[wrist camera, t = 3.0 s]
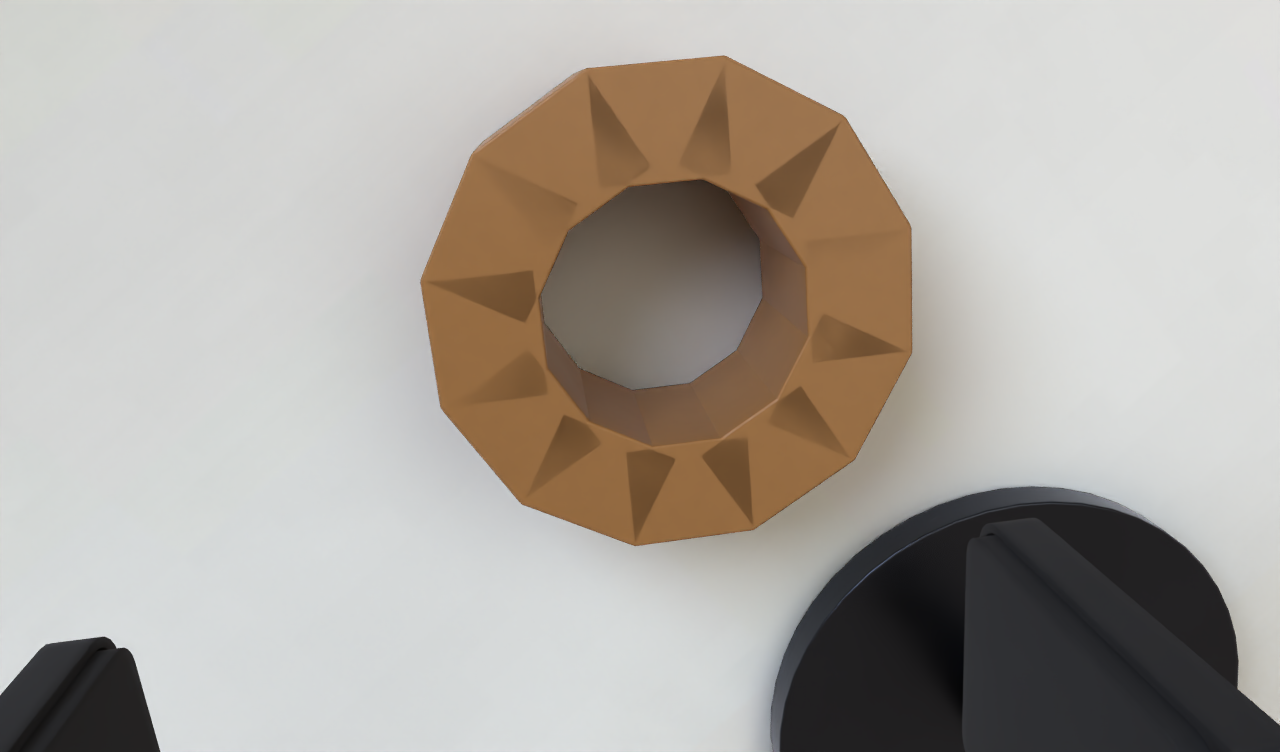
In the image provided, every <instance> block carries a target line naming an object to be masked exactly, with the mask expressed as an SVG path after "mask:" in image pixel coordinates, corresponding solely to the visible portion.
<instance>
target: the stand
mask: <svg viewBox="0 0 1280 752" xmlns="http://www.w3.org/2000/svg"><path fill="white" fill-rule="evenodd" d="M1027 518H1037V519H1039V520H1040V521H1042V522H1043V523H1044V524H1045V525H1047V526H1048V527H1049V528H1050V529H1051V530H1052V531H1054V532H1055V533H1056V534H1057V535H1058V536H1059V537H1061V538H1062V539H1063V540H1064V541H1065V542H1066V543H1068V544H1069V545H1070V546H1071V547H1072V548H1073V549H1075V550H1076V551H1077V552H1078V553H1079V554H1080V555H1082V556H1083V557H1084V558H1085V559H1086V560H1087V561H1089V562H1090V563H1091V564H1092V565H1093V566H1094V567H1096V568H1097V569H1098V570H1099V571H1100V572H1101V573H1103V574H1104V575H1105V576H1106V577H1107V578H1108V579H1110V580H1111V581H1112V582H1113V583H1114V584H1115V585H1117V586H1118V587H1119V588H1120V589H1121V590H1122V591H1124V592H1125V593H1126V594H1127V595H1128V596H1129V597H1131V598H1132V599H1133V600H1134V601H1135V602H1136V603H1138V604H1139V605H1140V606H1141V607H1142V608H1143V609H1145V610H1146V611H1147V612H1148V613H1149V614H1150V615H1152V616H1153V617H1154V618H1155V619H1156V620H1157V621H1159V622H1160V623H1161V624H1162V625H1163V626H1164V627H1166V628H1167V629H1168V630H1169V631H1170V632H1171V633H1173V634H1174V635H1175V636H1176V637H1177V638H1178V639H1180V640H1181V641H1182V642H1183V643H1184V644H1185V645H1187V646H1188V647H1189V648H1190V649H1191V650H1192V651H1194V652H1195V653H1196V654H1197V655H1198V656H1199V657H1201V658H1202V659H1203V660H1204V661H1205V662H1206V663H1208V664H1209V665H1210V666H1211V667H1212V668H1213V669H1215V670H1216V671H1217V672H1218V673H1219V674H1220V675H1222V676H1223V677H1224V678H1225V679H1226V680H1227V681H1229V682H1230V683H1231V684H1232V685H1233V686H1234V687H1236V688H1237V686H1238V653H1237V644H1236V635H1235V632H1234V628H1233V624H1232V621H1231V617H1230V613H1229V610H1228V608H1227V606H1226V604H1225V602H1224V599H1223V597H1222V595H1221V593H1220V591H1219V588H1218V586H1217V585H1216V584H1215V582H1214V581H1213V579H1212V578H1211V576H1210V575H1209V573H1208V572H1207V570H1206V569H1205V567H1204V566H1203V565H1202V564H1201V563H1200V562H1199V561H1198V560H1197V558H1196V557H1195V556H1194V555H1193V554H1192V553H1191V552H1190V551H1189V550H1188V549H1187V548H1186V547H1185V546H1184V545H1182V544H1181V543H1180V542H1178V541H1177V540H1176V539H1174V538H1173V537H1172V536H1170V535H1169V534H1168V533H1166V532H1165V531H1164V530H1162V529H1161V528H1159V527H1158V526H1156V525H1155V524H1153V523H1152V522H1150V521H1149V520H1148V519H1146V518H1145V517H1143V516H1142V515H1140V514H1138V513H1136V512H1134V511H1132V510H1130V509H1128V508H1126V507H1125V506H1123V505H1121V504H1119V503H1116V502H1114V501H1111V500H1108V499H1105V498H1102V497H1099V496H1096V495H1093V494H1090V493H1085V492H1079V491H1074V490H1069V489H1064V488H1049V487H1019V488H1005V489H997V490H992V491H987V492H982V493H977V494H972V495H968V496H965V497H962V498H959V499H956V500H953V501H950V502H947V503H943V504H940V505H938V506H936V507H933V508H931V509H929V510H927V511H925V512H923V513H920V514H918V515H916V516H914V517H912V518H909V519H908V520H906V521H904V522H903V523H901V524H899V525H898V526H896V527H894V528H893V529H891V530H890V531H888V532H886V533H885V534H883V535H881V536H880V537H879V538H877V539H876V540H875V541H873V542H872V543H871V544H870V545H868V546H867V547H866V548H864V549H863V550H862V551H860V552H859V553H858V554H857V555H855V556H854V557H853V558H852V559H851V560H850V561H849V562H848V563H847V564H846V565H845V566H844V567H843V568H842V569H841V570H840V571H839V572H838V573H837V574H836V575H835V576H834V577H833V578H832V579H831V580H830V581H829V583H828V584H827V585H826V586H825V588H824V589H823V590H822V591H821V592H820V594H819V595H818V596H817V597H816V599H815V600H814V601H813V602H812V604H811V606H810V607H809V609H808V610H807V612H806V614H805V615H804V617H803V618H802V620H801V622H800V623H799V625H798V626H797V628H796V630H795V632H794V634H793V637H792V639H791V641H790V643H789V645H788V647H787V649H786V652H785V654H784V657H783V660H782V663H781V666H780V670H779V673H778V676H777V679H776V683H775V689H774V695H773V701H772V707H771V742H772V749H773V752H965V749H964V744H963V738H962V715H963V675H964V634H965V593H966V553H967V545H968V543H969V541H970V540H971V539H972V538H977V537H980V533H981V530H982V528H983V526H985V525H986V524H988V523H996V522H1004V521H1011V520H1019V519H1027Z"/></svg>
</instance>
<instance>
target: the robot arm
mask: <svg viewBox="0 0 1280 752" xmlns="http://www.w3.org/2000/svg"><path fill="white" fill-rule="evenodd" d="M962 738H963V744H964V749H965V752H1280V725H1279V724H1277V723H1276V722H1275V721H1274V720H1273V719H1272V718H1271V717H1269V716H1268V715H1267V714H1266V713H1265V712H1264V711H1262V710H1261V709H1260V708H1259V707H1258V706H1257V705H1255V704H1254V703H1253V702H1252V701H1251V700H1250V699H1248V698H1247V697H1246V696H1245V695H1244V694H1243V693H1241V692H1240V691H1239V690H1238V689H1237V688H1236V687H1234V686H1233V685H1232V684H1231V683H1230V682H1229V681H1227V680H1226V679H1225V678H1224V677H1223V676H1222V675H1220V674H1219V673H1218V672H1217V671H1216V670H1215V669H1213V668H1212V667H1211V666H1210V665H1209V664H1208V663H1206V662H1205V661H1204V660H1203V659H1202V658H1201V657H1199V656H1198V655H1197V654H1196V653H1195V652H1194V651H1192V650H1191V649H1190V648H1189V647H1188V646H1187V645H1185V644H1184V643H1183V642H1182V641H1181V640H1180V639H1178V638H1177V637H1176V636H1175V635H1174V634H1173V633H1171V632H1170V631H1169V630H1168V629H1167V628H1166V627H1164V626H1163V625H1162V624H1161V623H1160V622H1159V621H1157V620H1156V619H1155V618H1154V617H1153V616H1152V615H1150V614H1149V613H1148V612H1147V611H1146V610H1145V609H1143V608H1142V607H1141V606H1140V605H1139V604H1138V603H1136V602H1135V601H1134V600H1133V599H1132V598H1131V597H1129V596H1128V595H1127V594H1126V593H1125V592H1124V591H1122V590H1121V589H1120V588H1119V587H1118V586H1117V585H1115V584H1114V583H1113V582H1112V581H1111V580H1110V579H1108V578H1107V577H1106V576H1105V575H1104V574H1103V573H1101V572H1100V571H1099V570H1098V569H1097V568H1096V567H1094V566H1093V565H1092V564H1091V563H1090V562H1089V561H1087V560H1086V559H1085V558H1084V557H1083V556H1082V555H1080V554H1079V553H1078V552H1077V551H1076V550H1075V549H1073V548H1072V547H1071V546H1070V545H1069V544H1068V543H1066V542H1065V541H1064V540H1063V539H1062V538H1061V537H1059V536H1058V535H1057V534H1056V533H1055V532H1054V531H1052V530H1051V529H1050V528H1049V527H1048V526H1047V525H1045V524H1044V523H1043V522H1042V521H1040V520H1039V519H1037V518H1027V519H1019V520H1011V521H1004V522H996V523H988V524H986V525H985V526H983V528H982V530H981V533H980V537H977V538H972V539H971V540H970V541H969V543H968V545H967V553H966V593H965V634H964V675H963V715H962ZM0 752H160V749H159V746H158V742H157V738H156V735H155V731H154V728H153V724H152V721H151V717H150V714H149V710H148V707H147V703H146V699H145V696H144V692H143V689H142V685H141V682H140V678H139V675H138V671H137V667H136V664H135V661H134V658H133V656H132V654H131V652H130V651H129V650H128V649H126V648H118V649H116V646H115V645H114V643H113V642H112V641H111V640H110V639H109V638H106V637H97V638H90V639H82V640H74V641H66V642H58V643H51V644H46V645H45V646H44V647H43V648H41V649H40V650H39V651H38V652H37V653H36V655H35V656H34V657H33V658H32V659H31V660H30V662H29V663H28V664H27V665H26V666H25V667H24V668H23V670H22V671H21V672H20V673H19V674H18V675H17V677H16V678H15V679H14V680H13V681H12V682H11V684H10V685H9V686H8V687H7V688H6V689H5V690H4V692H3V693H2V694H1V695H0Z"/></svg>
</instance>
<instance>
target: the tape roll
mask: <svg viewBox="0 0 1280 752" xmlns="http://www.w3.org/2000/svg"><path fill="white" fill-rule="evenodd" d="M701 179H702V180H704V181H707V182H709V183H711V184H713V185H715V186H717V187H719V188H721V189H724V190H726V191H728V193H729V194H730V196H731V197H732V199H733V200H734V202H735V203H736V205H737V207H738V208H739V210H740V211H741V213H742V214H743V216H744V217H745V219H746V220H747V222H748V223H749V225H750V226H751V228H752V229H753V231H754V232H755V234H756V235H757V237H758V238H759V240H760V258H761V277H762V296H763V298H762V300H761V302H760V304H759V306H758V308H757V310H756V312H755V314H754V316H753V318H752V320H751V322H750V324H749V326H748V328H747V330H746V332H745V334H744V336H743V339H742V341H741V343H740V345H739V347H738V349H737V350H736V351H735V352H734V353H732V354H731V355H729V356H728V357H727V358H725V359H724V360H722V361H721V362H720V363H718V364H717V365H715V366H714V367H712V368H711V369H710V370H708V371H707V372H705V373H704V374H703V375H701V376H700V377H698V378H697V379H696V380H694V381H693V382H691V383H688V384H680V385H672V386H664V387H656V388H647V389H639V390H630V389H628V388H625V387H623V386H621V385H618V384H616V383H613V382H611V381H608V380H606V379H603V378H601V377H599V376H596V375H594V374H591V373H589V372H586V371H584V370H581V369H579V367H578V366H577V365H576V364H575V362H574V361H573V360H572V358H571V357H570V356H569V354H568V353H567V352H566V351H565V349H564V348H563V347H562V345H561V344H560V343H559V342H558V340H557V339H556V338H555V336H554V335H553V334H552V332H551V331H550V330H549V329H548V327H547V326H546V325H545V323H544V316H543V308H542V300H541V293H542V291H543V288H544V286H545V284H546V281H547V279H548V277H549V275H550V272H551V270H552V268H553V265H554V263H555V261H556V259H557V256H558V254H559V252H560V249H561V247H562V245H563V243H564V240H565V238H566V236H567V233H568V231H569V230H571V229H572V228H573V227H575V226H576V225H577V224H579V223H580V222H582V221H583V220H584V219H586V218H587V217H588V216H590V215H591V214H593V213H594V212H595V211H597V210H598V209H599V208H601V207H602V206H603V205H605V204H606V203H608V202H609V201H610V200H612V199H613V198H614V197H616V196H617V195H618V194H620V193H621V192H623V191H624V190H625V189H627V188H628V187H634V186H644V185H653V184H663V183H672V182H682V181H692V180H701ZM420 283H421V289H422V295H423V301H424V308H425V314H426V320H427V326H428V332H429V339H430V345H431V351H432V357H433V364H434V370H435V376H436V382H437V388H438V395H439V401H440V407H441V409H442V410H443V412H444V413H445V414H446V415H447V417H448V418H449V419H450V420H451V421H452V422H453V424H454V425H455V426H456V427H457V428H458V430H459V431H460V432H461V433H462V434H463V436H464V437H465V438H466V439H467V440H468V441H469V443H470V444H471V445H472V446H473V447H474V449H475V450H476V451H477V452H478V453H479V455H480V456H481V457H482V458H483V459H484V460H485V462H486V463H487V464H488V465H489V466H490V468H491V469H492V470H493V471H494V472H495V474H496V475H497V476H498V477H499V478H500V480H501V481H502V482H503V483H504V484H505V485H506V487H507V488H508V489H509V490H510V491H511V493H512V494H513V495H514V496H515V497H516V499H517V500H518V501H519V502H521V504H522V505H525V506H528V507H531V508H533V509H536V510H539V511H541V512H544V513H547V514H550V515H552V516H555V517H558V518H560V519H563V520H566V521H568V522H571V523H574V524H577V525H579V526H582V527H585V528H587V529H590V530H593V531H596V532H598V533H601V534H604V535H606V536H609V537H612V538H615V539H617V540H620V541H623V542H625V543H628V544H631V545H634V546H639V545H646V544H654V543H661V542H669V541H676V540H683V539H691V538H698V537H705V536H713V535H720V534H728V533H735V532H742V531H750V530H754V529H755V528H757V527H758V526H760V525H761V524H763V523H764V522H766V521H767V520H769V519H770V518H771V517H773V516H774V515H776V514H777V513H779V512H780V511H782V510H783V509H784V508H786V507H787V506H789V505H790V504H792V503H793V502H795V501H796V500H797V499H799V498H800V497H802V496H803V495H805V494H806V493H808V492H809V491H810V490H812V489H813V488H815V487H816V486H818V485H819V484H821V483H822V482H823V481H825V480H826V479H828V478H829V477H831V476H832V475H834V474H835V473H837V472H838V471H839V470H841V469H842V468H844V467H845V466H847V465H848V464H850V463H851V462H852V461H854V460H855V458H856V456H857V454H858V453H859V451H860V449H861V447H862V445H863V443H864V441H865V439H866V438H867V436H868V434H869V432H870V430H871V428H872V426H873V425H874V423H875V421H876V419H877V417H878V415H879V413H880V412H881V410H882V408H883V406H884V404H885V402H886V400H887V398H888V397H889V395H890V393H891V391H892V389H893V387H894V385H895V384H896V382H897V380H898V378H899V376H900V374H901V372H902V371H903V369H904V367H905V365H906V363H907V361H908V359H909V358H910V356H911V354H912V252H911V226H910V223H909V222H908V220H907V218H906V217H905V215H904V214H903V212H902V210H901V209H900V207H899V205H898V204H897V202H896V200H895V199H894V197H893V195H892V194H891V192H890V190H889V189H888V187H887V185H886V184H885V182H884V180H883V179H882V177H881V175H880V174H879V172H878V170H877V169H876V167H875V165H874V164H873V162H872V160H871V159H870V157H869V155H868V154H867V152H866V150H865V149H864V147H863V145H862V144H861V142H860V140H859V139H858V137H857V135H856V134H855V132H854V131H853V129H852V127H851V126H850V124H849V122H848V121H847V119H846V118H845V117H844V116H843V115H842V114H840V113H838V112H836V111H834V110H832V109H830V108H828V107H826V106H824V105H822V104H820V103H818V102H816V101H814V100H812V99H810V98H808V97H806V96H804V95H802V94H800V93H798V92H796V91H794V90H792V89H790V88H788V87H786V86H784V85H782V84H780V83H778V82H776V81H774V80H772V79H770V78H768V77H766V76H764V75H762V74H760V73H758V72H757V71H755V70H753V69H751V68H749V67H747V66H745V65H743V64H741V63H739V62H737V61H735V60H733V59H731V58H729V57H727V56H714V57H703V58H693V59H682V60H671V61H660V62H650V63H639V64H628V65H617V66H607V67H596V68H586V69H584V70H581V71H579V72H577V73H574V74H573V75H571V76H570V77H569V78H567V79H566V80H565V81H563V82H562V83H561V84H559V85H558V86H557V87H555V88H554V89H553V90H551V91H550V92H549V93H547V94H546V95H545V96H543V97H542V98H541V99H539V100H538V101H537V102H535V103H534V104H533V105H531V106H530V107H529V108H527V109H526V110H525V111H523V112H522V113H521V114H519V115H518V116H517V117H515V118H514V119H513V120H511V121H510V122H509V123H507V124H506V125H505V126H503V127H502V128H501V129H499V130H498V131H497V132H495V133H494V134H493V135H491V136H490V137H489V138H487V139H486V140H485V141H483V142H482V143H481V144H480V145H479V146H478V147H477V149H476V150H475V151H474V152H473V153H472V155H471V157H470V159H469V161H468V164H467V166H466V169H465V171H464V174H463V176H462V179H461V181H460V184H459V186H458V189H457V191H456V193H455V196H454V198H453V201H452V203H451V206H450V208H449V211H448V213H447V216H446V218H445V221H444V223H443V225H442V228H441V230H440V233H439V235H438V238H437V240H436V243H435V245H434V248H433V250H432V253H431V255H430V257H429V260H428V262H427V265H426V267H425V270H424V272H423V275H422V277H421V282H420Z"/></svg>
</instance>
